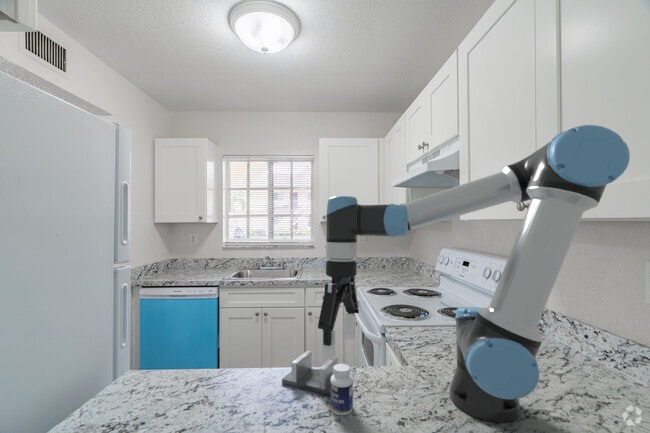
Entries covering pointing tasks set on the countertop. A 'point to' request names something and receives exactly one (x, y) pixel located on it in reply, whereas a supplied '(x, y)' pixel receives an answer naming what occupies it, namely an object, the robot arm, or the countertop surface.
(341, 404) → the pill bottle
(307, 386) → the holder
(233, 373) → the countertop surface
